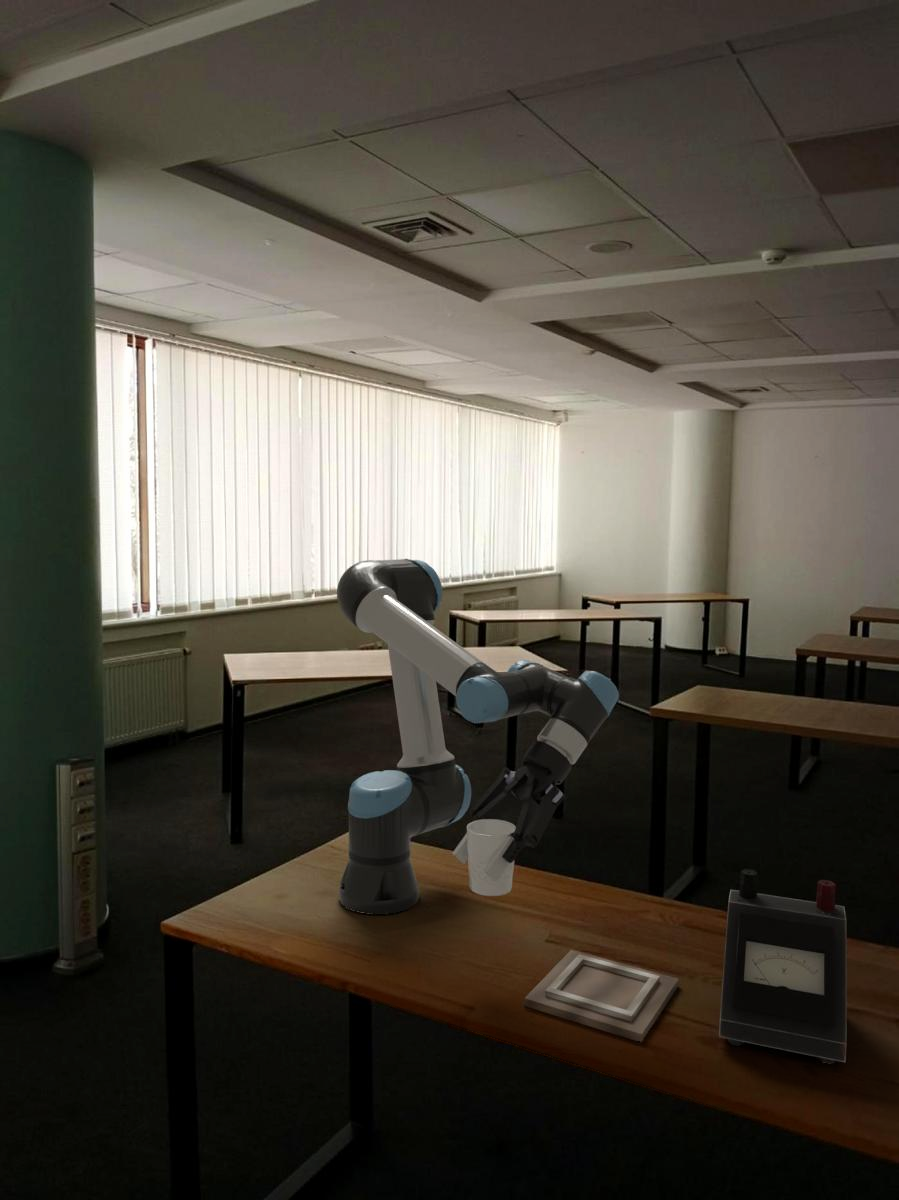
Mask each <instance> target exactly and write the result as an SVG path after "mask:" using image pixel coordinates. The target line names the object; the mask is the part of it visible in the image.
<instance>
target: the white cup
mask: <svg viewBox="0 0 899 1200" xmlns="http://www.w3.org/2000/svg"><path fill="white" fill-rule="evenodd" d="M516 826H517V825H515V824H514V823H513V822H509V821H507V820H503V819H498V818H496V819H485V818H484V819H482V820H476V821H472V822H469V823H468V824H467V825H466V831H467V853H468V860H467V869H468V872H469V873H468V887H469V889H470V890H471V891H472V892H473V893H475V894H478V895H481V896H485V897H499V896H504V895H506V894H508V893H510V892H511V891H512V887H513V874H514V869H515V866H514V865H515V860H514V861H513V862H512V863H509V864H508V866H507V867H506V869H505V870H504V872H503V873H502V874H501V876H500V877H499V879H498V880H497V882H496V881H494V880H493V879H492V878H491V877H490V876H489V875H488V874H487V873H486V872H484V870H485V868H486V867H487V866H488V864H489V863H490V861H491V860H492V858H493V857H494V855H495V854H496V853H497V851H498V850H499V848H500V847H501V845H502V844H503V843H504V841H505V840H506V839H507V837H508V836H509V837H511V838H512V839H514V838H513V837H512V836H511V833H514V832H515V829H516Z"/></svg>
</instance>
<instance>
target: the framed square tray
mask: <svg viewBox="0 0 899 1200" xmlns="http://www.w3.org/2000/svg"><path fill="white" fill-rule="evenodd" d="M679 979H680V978H678V977H673V976H670V975H666V974H662V973H658V972H655V971H651V970H647V969H644V968H641V967H637V966H634V965H633V966H632V965H628V964H626V963H625V964H624V963H622V962H617V961H614V960H611V959H607V958H604V957H599V956H595V955H592V954H589V953H584V952H581V951H577V950H574V949H570V950H569V951H568V952H567V954H565V955H564V957H562V959H560V960H559V962H558V963H556V965H555V966H554V967H553V968H552V969H551V970H550V971H549V972H548V973H547V974H546V975H545V976H544V977H543V979H541V981H540V982H538V984H536V986H534V988H533V989H532V990H531V991H530V992H529V993H528V994H527V995H526V996H525V997H524V1003H523V1004H524V1007H527V1008H530V1009H533V1010H537V1011H540V1012H543V1013H546V1014H550V1015H551V1016H555V1017H558V1018H559V1017H560V1018H562V1019H565V1020H567V1021H572V1022H575V1023H578V1024H580V1025H583V1026H588V1027H591V1028H594V1029H598V1030H600V1031H603V1032H607V1033H609V1034H613V1035H617V1036H620V1037H623V1038H625V1039H626V1038H627V1039H628V1040H633V1041H635V1042H638V1041H640V1042H639V1043H643V1041H644V1039H645V1038H646V1036H647V1035H648V1033H649V1032H648V1031H650V1030H651V1029H652V1028H653V1025H654V1024H655V1022H656V1021H657V1020H658V1018H659V1016H660V1015H661V1014H662V1012H663V1011H664V1008H665V1007H666V1006H667V1005H668V1002H669V1001H670V999H672V997H673V995H674V993H676V990H677V988H679ZM650 1028H651V1029H650ZM646 1034H647V1035H646ZM644 1037H645V1038H644Z"/></svg>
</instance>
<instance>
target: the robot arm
mask: <svg viewBox="0 0 899 1200" xmlns="http://www.w3.org/2000/svg"><path fill="white" fill-rule="evenodd" d="M336 599H337V602H338V606H339V609H340V610H341V612H342V614H343V616H345V618H346V619H347V620H348V621H349V622H350V623H351V624H352V625H354V626H355V627H356V628H357V629H359V630H360V631H362V632H364V633H366V634H368V633H369V634H371V633H373V634H374V635H376V636H377V637H378V638H379V639H380V640H382V641H383V642H385V644H387V649H388V656H389V663H390V670H391V677H392V684H393V691H394V698H395V704H396V705H395V706H396V713H397V720H398V721H397V722H398V727H399V734H400V742H401V743H400V744H401V749H402V757H401V759H400V760H399V762H397V764H396V769H397V770H393V769H387V770H385V769H384V770H382V771H379V770H378V771H376V770H375V771H372V772H368V773H366V774H363V775H362V776H360V777H358V778H356V779H355V780H354V781H353V782H352V784H351V786H350V788H349V796H348V802H347V811H348V859H347V862H346V865H345V869H344V871H343V875H342V877H341V879H340V883H339V888H338V901H339V900H340V902H341V903H340V902H339V903H340V905H341V904H342V905H343V906H345V907H347V908H349V909H352V910H354V911H359V912H364V913H370V914H371V913H372V914H385V915H387V914H386V913H393V914H397V913H396V912H398V913H401V912H400V911H402V912H405V911H406V909H407V910H410V909H411V908H413V907H414V906H415V905H416V904H417V903H418V901H419V897H420V896H419V895H420V887H419V883H418V881H417V876H416V874H415V873H416V872H415V869H414V866H413V864H412V860H411V838H413V837H415V836H418V835H422V834H423V833H427V832H431V831H433V830H436V829H440V828H441V829H443V828H445V827H448V826H449V825H451V824H452V823H455V822H457V821H459V820H460V819H462V818H463V816H464V815H465V813H466V812H467V811H468V809H469V807H470V804H471V799H472V787H471V782H470V779H469V776H468V775H467V774H466V773H464V772H465V770H464V769H463V768H462V767H461V766H460V765H458V764H456V761H455V755H454V754H453V753H451V752H450V751H448V750H447V748H446V743H445V737H444V730H443V722H442V715H441V707H440V701H439V693H438V687H437V683H438V684H439V685H441V686H442V687H443V688H444V689H446V691H448V692H449V693H451V694H452V695H453V696H454V697H455V700H456V701H455V702H456V706H457V709H458V710H459V711H460V713H461V716H462V717H463V719H465V720H467V722H470V723H473V724H481V723H493V722H496V721H498V720H499V721H500V720H503V719H507V718H510V717H515V716H520V715H523V714H528V713H532V712H541V713H542V714H545V715H546V716H550V717H551V718H550V719H549V720H548V722H546V724H545V725H544V727H543V728H542V729H541V730H540V732H539V734H538V735H537V740H536V741H533V742H532V744H531V745H530V746H529V748H528V749H527V751H526V752H525V754H524V755H523V765H522V766H520V767H519V768H518V769H517V770H516V771H513V770H510V769H509V767H503V769H502V770H501V772H500V774H499V776H498V778H497V779H496V780H495V781H494V782H493V783H492V784H491V785H490V787H488V789H487V790H486V791H485V792H484V794H483V795H482V796H481V797H480V798H479V799H478V800H477V802H476V803H475V804H473V806H472V807H471V808H470V810H469V814H470V815H471V816H472V818H473V821H476V820H482V819H498V818H499V817H500V816H501V815H502V814H503V813H505V812H506V811H507V810H508V809H510V808H511V806H513V805H515V804H516V805H517V804H519V803H520V802H522V801H523V804H522V807H521V811H520V813H519V815H518V816H519V817H518V820H517V823H516V825H515V826H516V829H515V832H514V833H511V836H512V837H513V838H514V839H512V838H511V837H509V836H508V837H507V839H506V840H505V841H504V843H503V844H502V845H501V847H500V848H499V850H498V851H497V853H496V854H495V855H494V857H493V858H492V860H491V861H490V863H489V864H488V866H487V867H486V868H485V870H484V872H486V873H487V874H488V875H489V876H490V877H491V878H492V879H493V880H494V881H496V882H497V880H498V879H499V877H500V876H501V874H502V873H503V872H504V870H505V869H506V867H507V866H508V864H509V863H512V862H513V861H514V862H515V859H516V858H517V857H518V855H519V854H520V852H521V851H522V849H523V848H526V847H527V846H528V847H531V848H532V849H533V848H536V847H537V846H538V844H539V842H540V840H541V839H542V836H543V835H544V834H545V830H546V829H547V827H548V826H549V823H550V821H551V819H552V817H553V816H554V814H555V812H556V810H557V808H558V807H559V806H560V804H561V803H563V801H564V800H565V798H566V795H565V794H564V793H563V792H562V791H561V790H560V789H559V787H558V786H556V785H561V784H562V783H563V782H564V781H565V779H566V778H567V776H568V775H569V773H570V772H571V770H572V765H574V764H576V763H577V761H578V759H579V757H581V755H582V753H583V752H584V750H585V749H586V748H587V747H588V745H589V743H590V742H591V740H592V738H593V737H594V736H595V734H596V733H597V732H598V730H599V729H600V727H601V726H602V725H603V723H604V722H605V721H606V719H607V718H609V717H610V714H611V712H612V710H613V709H614V707H615V705H616V703H617V702H618V700H619V697H620V694H619V690H618V689H617V686H616V685H615V684H614V682H613V681H611V680H610V679H609V677H607V676H605V675H604V674H602V673H601V672H600V673H599V672H598V671H595V670H586V671H584V672H583V673H582V674H581V675H579V677H578V678H577V679H576V678H573V677H569V676H567V675H565V674H562V673H560V672H558V671H555V670H553V669H551V668H548V667H546V666H544V665H543V664H541V663H539V662H534V661H530V660H526V659H520V660H517V661H515V663H514V664H513V665H511V666H510V667H509V668H508V670H507V671H504V672H498V671H497V670H496V669H495V670H494V669H493V668H492V667H490V666H489V665H487V664H486V663H484V662H483V661H482V660H480V659H479V658H477V657H476V656H474V655H473V654H472V653H471V652H469V651H468V650H467V649H465V648H464V647H462V646H461V645H459V644H458V643H457V642H456V641H454V640H453V639H452V638H450V637H448V635H446V634H445V633H443V632H442V631H441V630H439V629H438V628H436V627H435V626H434V624H435V620H436V619H435V612H436V611H437V610H438V609H439V608H440V606H441V603H440V602H442V600H443V585H442V583H441V579H440V576H439V575H438V573H437V571H436V570H435V569H434V568H433V567H432V566H430V565H429V564H428V563H427V562H425V561H424V560H420V559H411V558H400V559H399V558H397V559H383V560H382V559H381V560H380V559H378V560H376V559H375V560H373V559H371V560H370V559H368V560H362V561H359V562H357V563H354V564H353V565H351V566H349V568H347V569H346V570H345V571H344V572H343V574H342V575H341V576H340V579H339V581H338V584H337V588H336ZM473 821H472V822H473ZM462 837H463V838H462V839H461V840H460V842H459V843H458V844H457V846H456V847H455V848H454V850H453V851H452V855H453V856H454V857H455V858H457V860H459V862H460V863H461V864H463V865H465V863H467V862H468V853H467V830H466V831H465V832H464V834H463V836H462ZM342 905H341V906H342ZM345 907H344V908H345ZM347 908H346V909H347ZM349 909H348V910H349ZM404 910H405V911H404ZM354 911H353V912H354Z"/></svg>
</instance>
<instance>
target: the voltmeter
mask: <svg viewBox="0 0 899 1200" xmlns="http://www.w3.org/2000/svg"><path fill="white" fill-rule="evenodd" d="M816 885H817V888H816V901H810V900H803V899H796V898H790V897H783V896H777V895H770V894H764V893H758V872H757V871H755V870H754V869H748V868H745V869H742V870H740V878H739V890H738V889H737V890H736V889H730V891H729V896H728V905H727V917H726V918H727V919H726V929H725V930H726V931H725V932H726V933H725V943H724V944H725V946H724V956H723V958H724V959H723V971H722V973H723V974H722V986H721V999H720V1011H719V1012H720V1013H719V1014H720V1015H719V1029H718V1031H719V1032H718V1037H719V1038H723V1039H727V1041H728V1042H727V1043H729V1044H731V1045H732V1046H737V1047H740V1046H742V1045H744V1043H749V1044H752V1045H757V1046H758V1045H759V1046H762V1047H768V1048H770V1049H771V1048H773V1049H778V1050H782V1051H787V1052H790V1053H791V1052H792V1053H796V1054H801V1055H805V1056H806V1055H807V1056H811V1057H816V1058H817V1059H818V1058H819V1059H820V1060H821V1061H823V1062H826V1063H833V1062H835V1063H836V1062H842V1063H846V1059H847V1057H846V1056H847V916H846V915H847V914H846V910H845V906H844V905H843V906H842V905H837V904H836V887H837V886H836V885H837V884H836V883H834V882H833V880H827V879H826V880H825V879H820V880H818V881H817V884H816ZM819 1059H818V1060H819ZM820 1060H819V1061H820ZM821 1061H820V1062H821Z"/></svg>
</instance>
